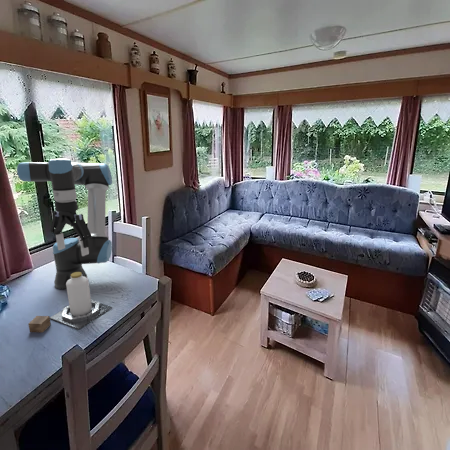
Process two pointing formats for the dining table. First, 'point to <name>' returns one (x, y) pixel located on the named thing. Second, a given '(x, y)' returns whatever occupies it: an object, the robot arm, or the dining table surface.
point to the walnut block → (39, 324)
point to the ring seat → (83, 320)
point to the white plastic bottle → (78, 294)
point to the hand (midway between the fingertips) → (73, 252)
